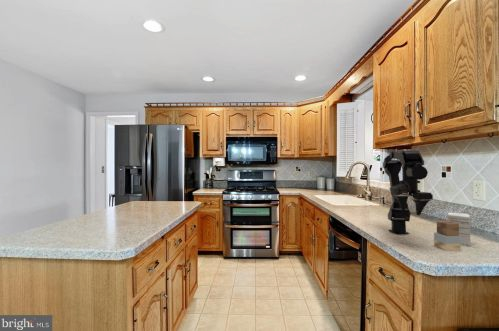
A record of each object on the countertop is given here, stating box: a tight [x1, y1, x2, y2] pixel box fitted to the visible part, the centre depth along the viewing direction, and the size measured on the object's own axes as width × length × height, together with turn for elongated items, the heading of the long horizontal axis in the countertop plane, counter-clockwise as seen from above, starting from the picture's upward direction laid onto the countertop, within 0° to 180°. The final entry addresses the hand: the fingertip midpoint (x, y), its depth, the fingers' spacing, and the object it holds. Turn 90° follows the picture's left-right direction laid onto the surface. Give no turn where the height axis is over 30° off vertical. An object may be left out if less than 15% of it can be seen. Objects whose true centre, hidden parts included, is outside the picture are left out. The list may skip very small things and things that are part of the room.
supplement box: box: [447, 212, 472, 247], centre depth 106 cm, size 7×7×13 cm
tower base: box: [433, 239, 462, 252], centre depth 99 cm, size 6×6×3 cm
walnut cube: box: [436, 220, 459, 237], centre depth 99 cm, size 5×5×5 cm
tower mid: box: [433, 232, 461, 244], centre depth 99 cm, size 6×6×3 cm
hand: (410, 213), depth 107 cm, fingers open, 9 cm apart
